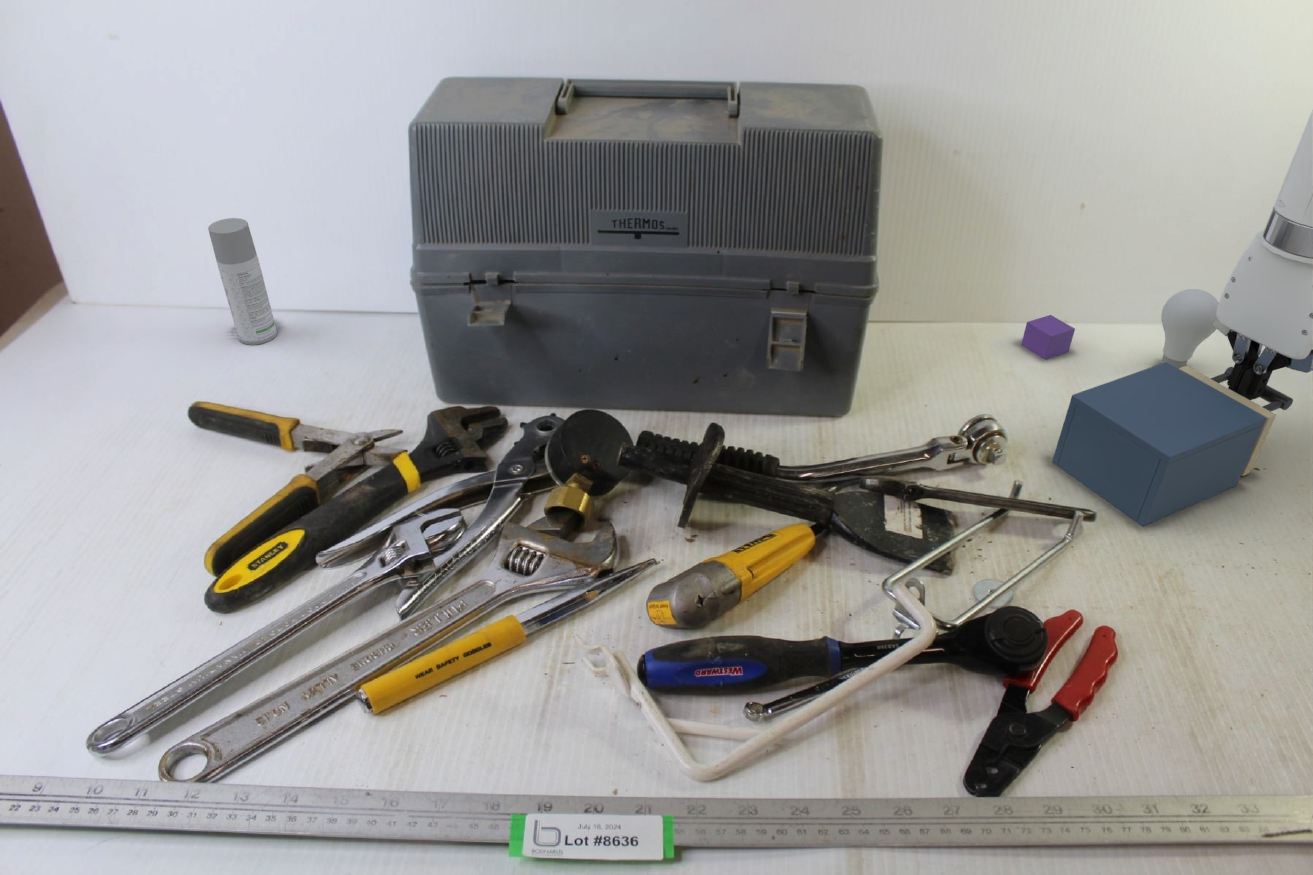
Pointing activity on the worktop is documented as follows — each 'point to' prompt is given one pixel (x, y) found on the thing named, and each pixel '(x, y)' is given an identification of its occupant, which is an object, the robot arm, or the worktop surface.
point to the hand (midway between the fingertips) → (1240, 397)
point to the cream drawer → (1269, 395)
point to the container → (242, 280)
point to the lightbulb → (1187, 324)
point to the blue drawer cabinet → (1156, 442)
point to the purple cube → (1047, 337)
